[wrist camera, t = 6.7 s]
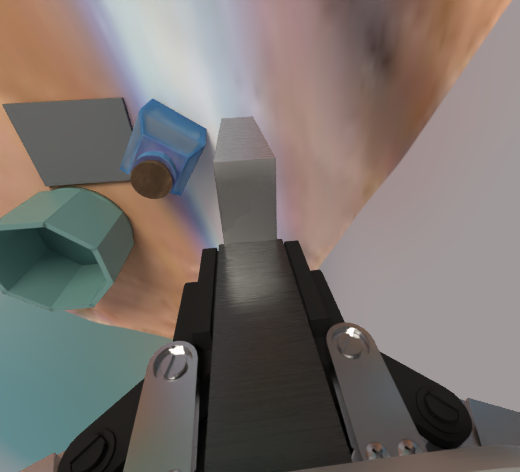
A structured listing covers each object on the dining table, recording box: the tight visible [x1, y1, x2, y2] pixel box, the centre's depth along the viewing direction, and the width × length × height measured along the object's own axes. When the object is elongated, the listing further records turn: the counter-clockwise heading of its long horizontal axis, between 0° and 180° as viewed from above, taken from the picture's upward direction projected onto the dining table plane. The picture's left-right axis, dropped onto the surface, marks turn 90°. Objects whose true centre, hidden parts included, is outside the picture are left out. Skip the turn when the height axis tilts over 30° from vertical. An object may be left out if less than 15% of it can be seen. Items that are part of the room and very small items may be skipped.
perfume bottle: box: [120, 99, 206, 199], centre depth 26 cm, size 6×6×12 cm
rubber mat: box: [2, 98, 133, 186], centre depth 30 cm, size 12×9×1 cm
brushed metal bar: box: [204, 117, 353, 472], centre depth 12 cm, size 2×9×18 cm, turn 3°
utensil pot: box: [0, 187, 135, 311], centre depth 32 cm, size 12×12×9 cm
